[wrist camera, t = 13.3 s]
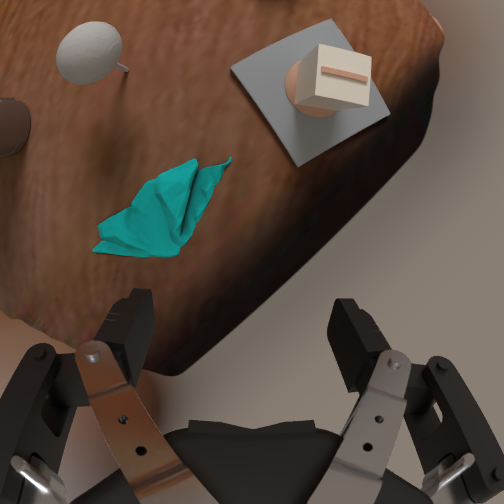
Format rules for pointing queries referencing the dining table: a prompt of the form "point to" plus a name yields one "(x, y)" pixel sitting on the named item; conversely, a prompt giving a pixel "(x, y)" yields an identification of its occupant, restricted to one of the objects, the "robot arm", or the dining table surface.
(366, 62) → the striped cream block
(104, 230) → the cloth
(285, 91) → the base
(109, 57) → the lollipop
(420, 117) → the dining table surface
